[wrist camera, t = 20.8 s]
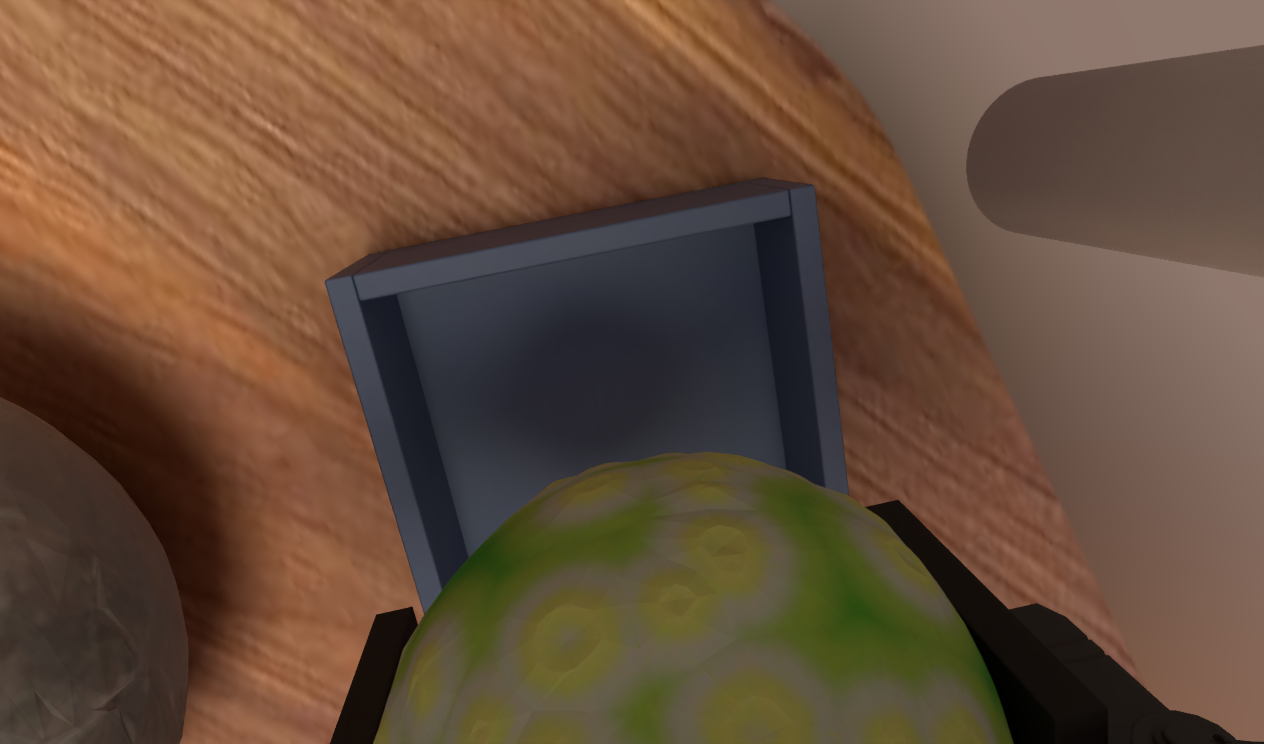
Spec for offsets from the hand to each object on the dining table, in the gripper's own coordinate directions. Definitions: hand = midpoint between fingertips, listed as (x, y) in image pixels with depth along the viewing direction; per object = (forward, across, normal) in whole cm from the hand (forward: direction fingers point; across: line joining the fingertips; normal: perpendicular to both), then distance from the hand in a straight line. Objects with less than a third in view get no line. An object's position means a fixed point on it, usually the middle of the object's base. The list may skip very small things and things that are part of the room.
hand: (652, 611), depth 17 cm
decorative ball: (+1, 0, 0) cm, 1 cm away
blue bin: (+14, 0, 0) cm, 14 cm away
